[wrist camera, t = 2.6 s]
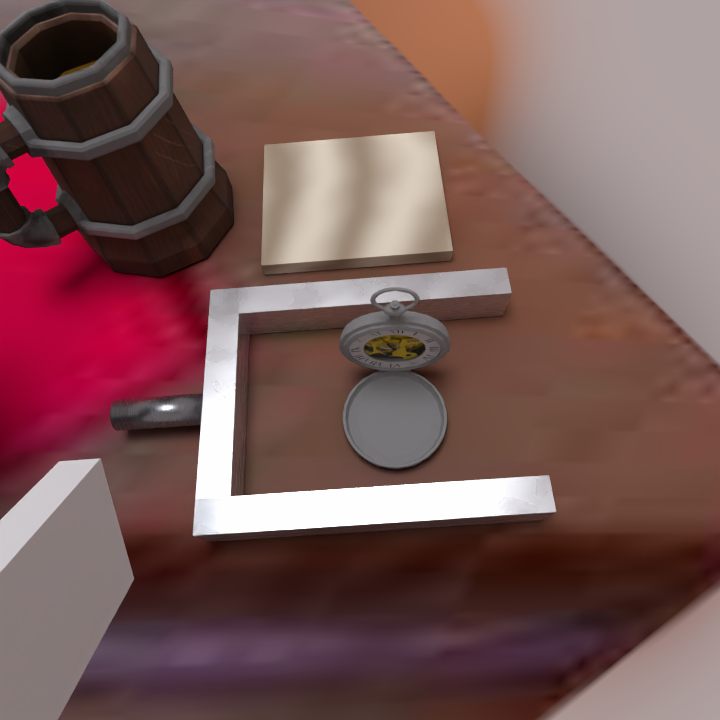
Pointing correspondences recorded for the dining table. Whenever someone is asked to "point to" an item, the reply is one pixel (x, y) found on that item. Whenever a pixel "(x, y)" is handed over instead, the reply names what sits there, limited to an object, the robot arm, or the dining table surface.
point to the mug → (106, 142)
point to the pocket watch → (394, 384)
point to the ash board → (353, 204)
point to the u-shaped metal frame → (327, 507)
